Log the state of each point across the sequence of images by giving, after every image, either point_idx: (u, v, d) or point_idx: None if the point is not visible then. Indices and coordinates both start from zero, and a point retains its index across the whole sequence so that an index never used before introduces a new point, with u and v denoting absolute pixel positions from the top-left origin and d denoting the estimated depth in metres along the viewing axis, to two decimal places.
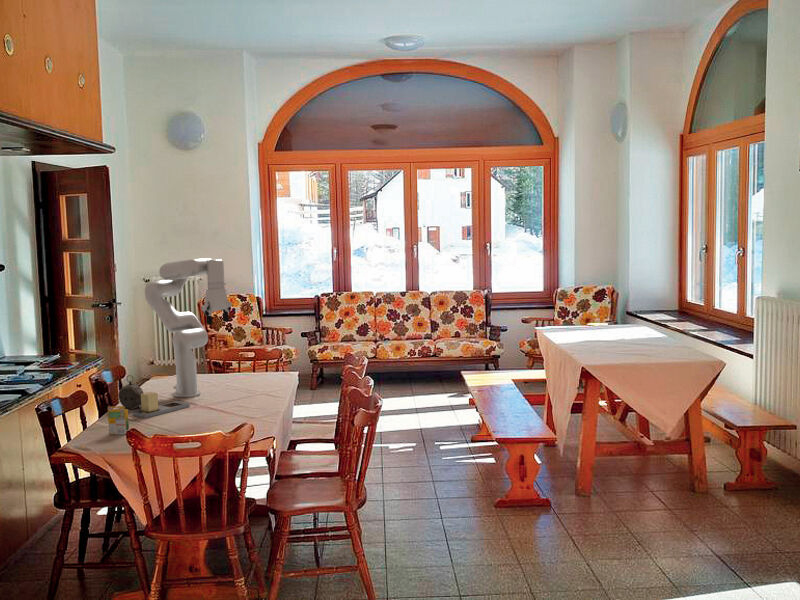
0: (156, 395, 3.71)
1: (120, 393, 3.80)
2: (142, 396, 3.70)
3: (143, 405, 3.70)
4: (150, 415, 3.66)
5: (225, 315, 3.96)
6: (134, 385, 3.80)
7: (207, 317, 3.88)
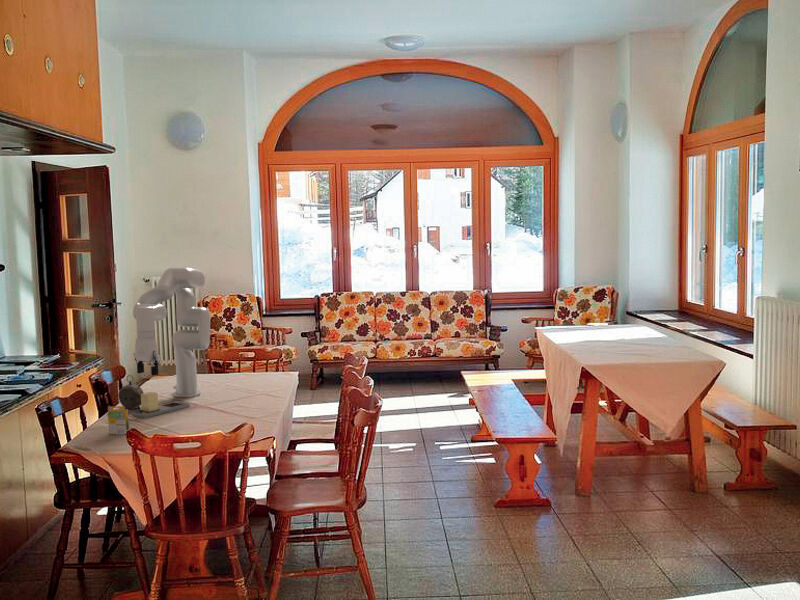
0: (156, 395, 3.71)
1: (120, 393, 3.80)
2: (142, 396, 3.70)
3: (143, 405, 3.70)
4: (150, 415, 3.66)
5: (142, 366, 3.72)
6: (134, 385, 3.80)
7: (155, 367, 3.65)
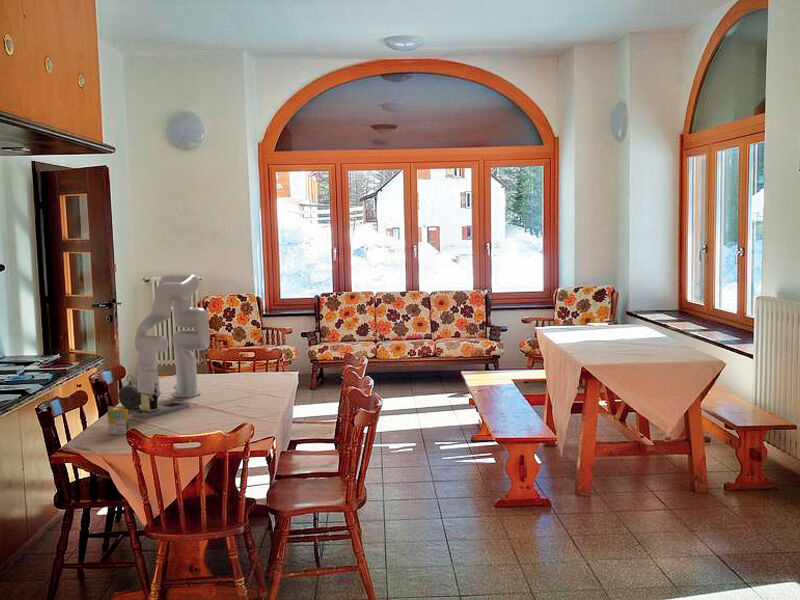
0: None
1: (120, 393, 3.80)
2: (142, 396, 3.70)
3: (143, 405, 3.70)
4: (150, 415, 3.66)
5: None
6: (134, 385, 3.80)
7: (155, 402, 3.69)
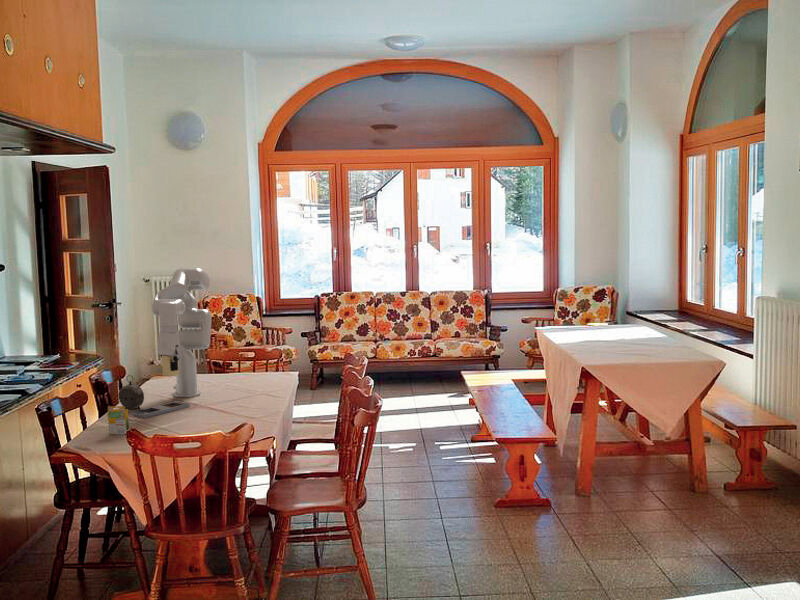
0: None
1: (120, 393, 3.80)
2: (163, 358, 3.77)
3: (164, 367, 3.78)
4: (150, 415, 3.66)
5: None
6: (134, 385, 3.80)
7: (175, 363, 3.77)
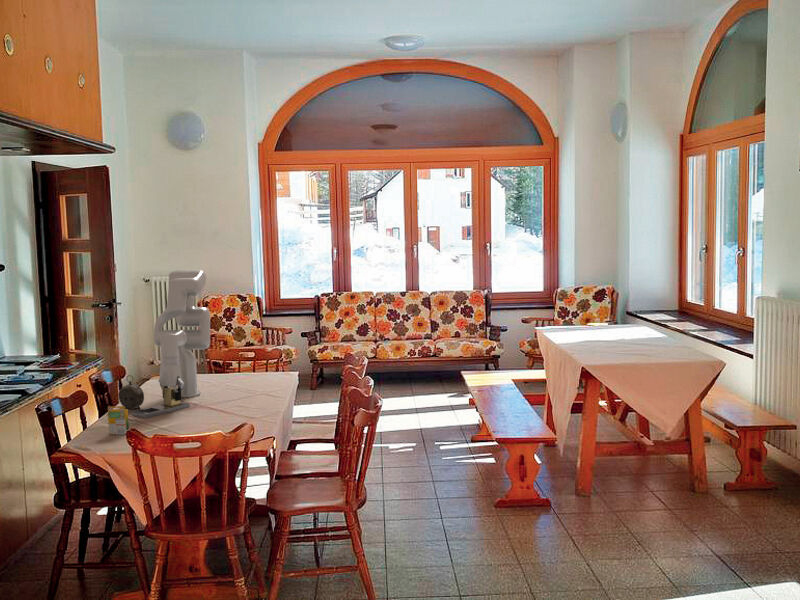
0: None
1: (120, 393, 3.80)
2: (165, 391, 3.79)
3: (166, 400, 3.79)
4: (150, 415, 3.66)
5: None
6: (134, 385, 3.80)
7: (179, 393, 3.77)
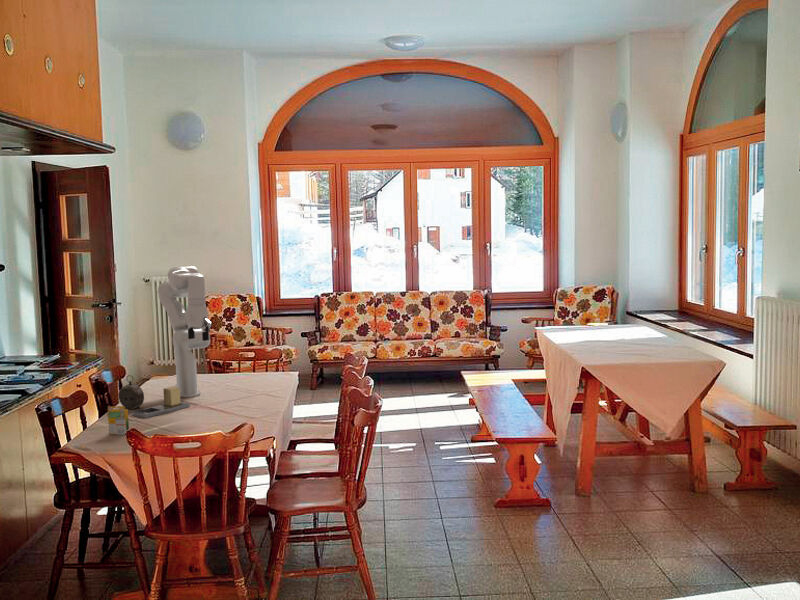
0: (178, 390, 3.80)
1: (120, 393, 3.80)
2: (165, 391, 3.79)
3: (166, 400, 3.79)
4: (150, 415, 3.66)
5: (192, 332, 3.90)
6: (134, 385, 3.80)
7: (206, 333, 3.83)
